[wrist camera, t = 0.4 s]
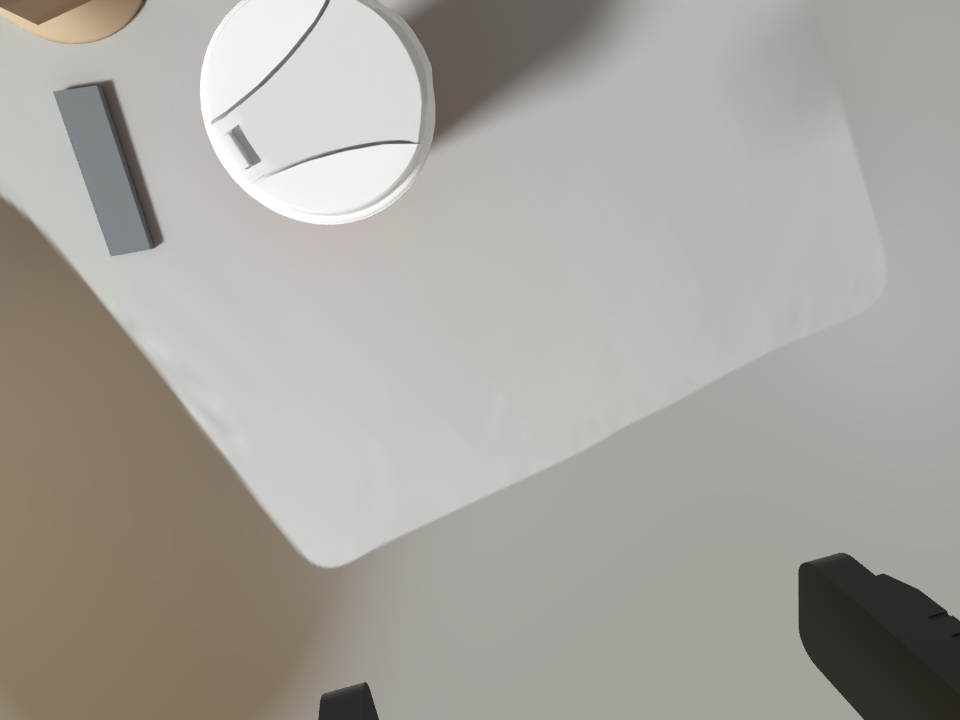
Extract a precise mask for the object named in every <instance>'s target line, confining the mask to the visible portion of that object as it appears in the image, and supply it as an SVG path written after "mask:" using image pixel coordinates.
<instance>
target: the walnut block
mask: <svg viewBox="0 0 960 720" xmlns="http://www.w3.org/2000/svg"><path fill="white" fill-rule="evenodd" d="M90 1H92V0H0V7H1V8H3V9H5V10H7V11H9V12H11V13H14V14H16V15H18V16H20V17H22V18H24V19H26V20H28V21H30V22H32V23H35V24H37V25H40V24H42V23H44V22H46V21H48V20H51V19H53V18H55V17H57V16H59V15H61V14H64V13H66V12H68V11H70V10H72V9H74V8H77V7H79V6H81V5H83V4H85V3H87V2H90Z"/></svg>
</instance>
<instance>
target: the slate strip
mask: <svg viewBox="0 0 960 720" xmlns="http://www.w3.org/2000/svg"><path fill="white" fill-rule="evenodd" d="M54 95H55V98H56V101H57V104H58V107H59V110H60V112H61V115H62V118H63V121H64V124H65V127H66V130H67V132H68V135H69V138H70V141H71V144H72V147H73V150H74V152H75V155H76V158H77V161H78V164H79V167H80V169H81V172H82V175H83V178H84V181H85V184H86V187H87V189H88V192H89V195H90V198H91V201H92V204H93V207H94V209H95V212H96V215H97V218H98V221H99V224H100V227H101V229H102V232H103V235H104V238H105V241H106V244H107V247H108V249H109V252H110V255H111V256H115V255H121V254H126V253H132V252H138V251H143V250H149V249H153V248H154V245H153V242H152V239H151V236H150V233H149V230H148V227H147V224H146V221H145V218H144V215H143V212H142V209H141V205H140V202H139V199H138V196H137V193H136V190H135V187H134V184H133V181H132V178H131V175H130V172H129V169H128V166H127V163H126V160H125V157H124V154H123V151H122V147H121V144H120V141H119V138H118V135H117V132H116V129H115V126H114V123H113V120H112V117H111V114H110V111H109V108H108V105H107V102H106V99H105V96H104V92H103V89H102V87H100V86H97V85H96V86H89V87H82V88H75V89H69V90H62V91H55V92H54Z"/></svg>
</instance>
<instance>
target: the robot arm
mask: <svg viewBox="0 0 960 720" xmlns="http://www.w3.org/2000/svg"><path fill="white" fill-rule="evenodd" d="M799 633H800V637H801V640H802V643H803V646H804V648H805V650H806V652H807V654H808V655H809V657H810V659H811V660H812V661H813V663H814V664H815V665H816V666H817V668H818V669H819V670H820V671H821V672H822V673H823V674H824V676H825V677H826V678H827V679H828V680H829V681H830V682H831V683H832V684H833V685H834V687H835V688H836V689H837V690H838V691H839V692H840V693H841V694H842V695H843V697H844V698H845V699H846V700H847V701H848V702H849V703H850V704H851V706H852V707H853V708H854V709H855V710H856V711H857V712H858V713H859V714H860V716H861V717H862V718H863V719H864V720H960V621H959V620H958V619H957V618H955V617H954V616H949V615H948V613H947V611H946V610H945V609H943V608H942V607H941V606H940V605H938V604H937V603H935V602H934V601H933V600H932V599H930V598H929V597H928V596H926V595H925V594H924V593H922V592H921V591H920V590H919V589H916V588H914V587H912V586H910V585H908V584H905V583H903V582H901V581H899V580H896V579H894V578H892V577H890V576H888V575H885V574H881V575H877V576H875V575H874V574H873V573H871V572H870V571H869V570H868V569H866V568H865V567H864V566H863V565H862V564H860V563H859V562H858V561H857V560H855V559H854V558H852V557H851V556H850V555H848V554H845V553H838V554H834V555H831V556H827V557H823V558H820V559H816V560H813V561H809V562H805V563H803V564H801V566H800V568H799ZM318 720H379V718H378V715H377V712H376V708H375V705H374V702H373V698H372V695H371V692H370V689H369V686H368V684H367V683H366V682H364V683H361V684H357V685H353V686H350V687H346V688H342V689H339V690H335V691H331V692H328V693H324V694H323V695H322V697H321V700H320V710H319V719H318Z"/></svg>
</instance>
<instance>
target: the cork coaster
mask: <svg viewBox="0 0 960 720" xmlns="http://www.w3.org/2000/svg"><path fill="white" fill-rule="evenodd" d="M142 2H143V0H92V1H90V2H87V3H85V4H83V5H81V6H79V7H77V8H74V9H72V10H70V11H68V12H66V13H64V14H61V15H59V16H57V17H55V18H53V19H51V20H48V21H46V22H44V23H42V24H40V25H37V24H35V23H32V22H30V21H28V20H26V19H24V18H22V17H20V16H18V15H16V14H14V13H11V12H9V11H7V10H5V9H3V8H1V7H0V14H1V15H2V16H4V17H5V18H6V19H8V20H9V21H11V22H12V23H13V24H15V25H17V26H18V27H20V28H22V29H24V30H26V31H28V32H30V33H32V34H34V35H37V36H39V37H42V38H45V39H48V40H51V41H56V42H61V43H72V44H79V43H89V42H94V41H98V40H101V39H104V38H106V37H109V36H111V35H113V34H114V33H116V32H118V31H119V30H120V29H122V28H123V27H124V26H125V25H127V24H128V22H129V21H130V20H131V19H132V18H133V17H134V16H135V14H136V12H137V11H138V9H139V8H140V6H141V4H142Z"/></svg>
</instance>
